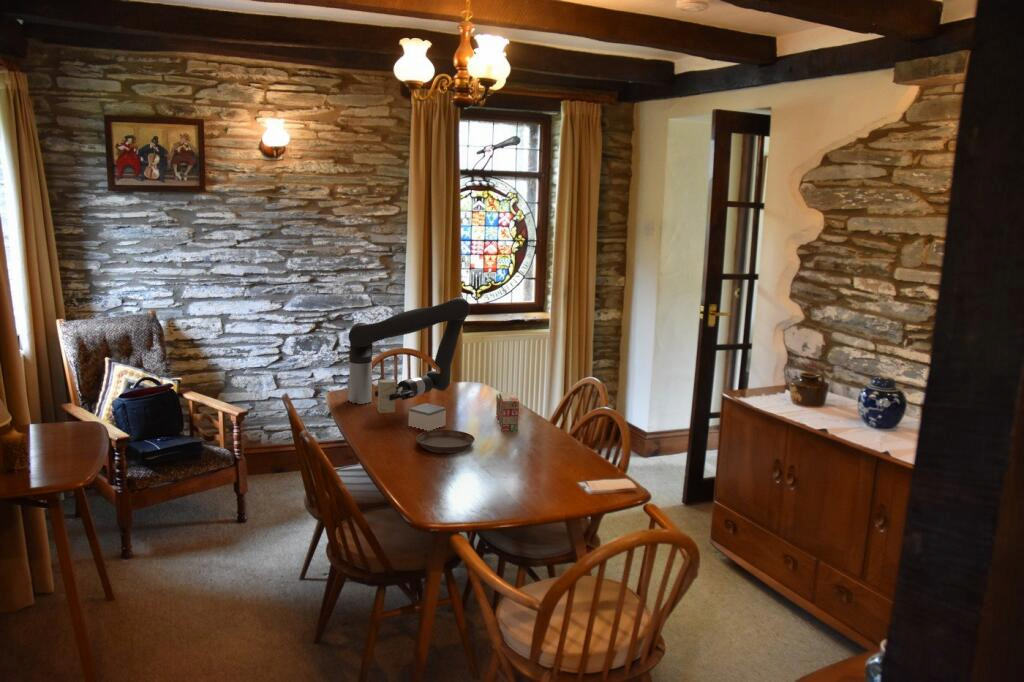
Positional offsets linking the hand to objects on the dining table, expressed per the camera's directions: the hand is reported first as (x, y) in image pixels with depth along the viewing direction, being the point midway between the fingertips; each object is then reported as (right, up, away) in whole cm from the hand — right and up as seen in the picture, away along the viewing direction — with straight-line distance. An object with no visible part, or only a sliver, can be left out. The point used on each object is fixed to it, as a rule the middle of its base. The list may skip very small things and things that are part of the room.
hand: (382, 395), depth 297 cm
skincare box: (+1, -6, +3) cm, 7 cm away
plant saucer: (+26, -17, -21) cm, 37 cm away
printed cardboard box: (+47, -12, +9) cm, 49 cm away
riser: (+17, -12, +1) cm, 20 cm away
